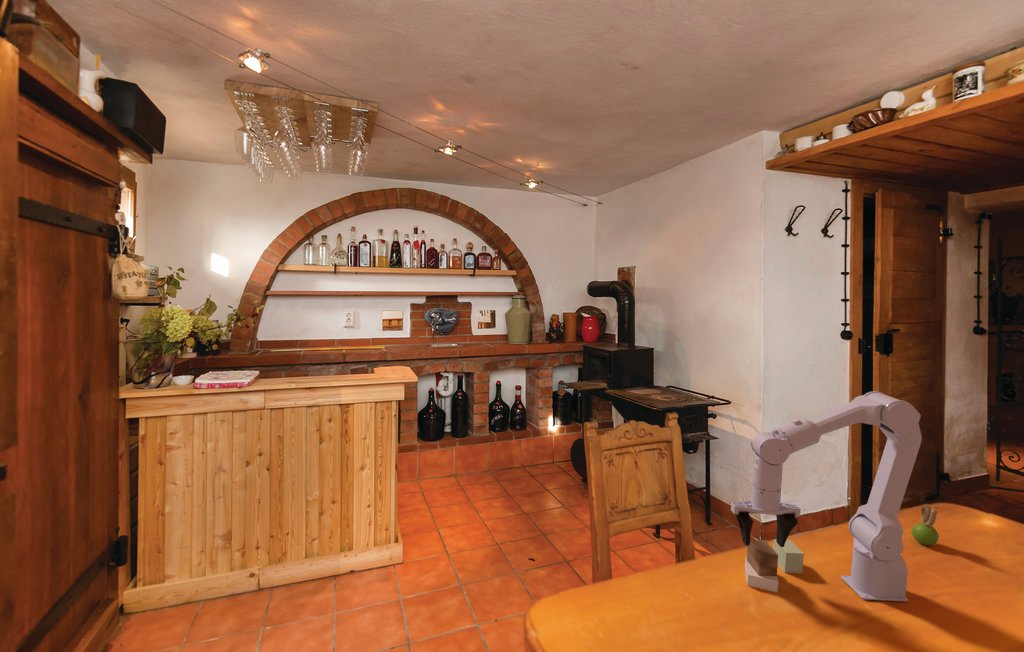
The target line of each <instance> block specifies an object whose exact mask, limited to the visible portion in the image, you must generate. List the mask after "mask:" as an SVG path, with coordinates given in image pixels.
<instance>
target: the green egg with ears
mask: <svg viewBox="0 0 1024 652" xmlns="http://www.w3.org/2000/svg"><path fill="white" fill-rule="evenodd" d="M935 508H936V509H935ZM938 509H939V506H938V505H936V506H935V505H932V508H931V507H930V506H929V505H928V504H923V505H922V506H921V507H920V520H921V522H918V523H916V524H914V525H913V526H912V528H911V534H912V537H913V538H914V540H915V541H916V542H918V543H919V544H922V545H925V546H932V545H935V544H936V543H938V541H939V539H940V538H939V537H940V536H939V532H938V531H937V529H936V528H935V527H934V524H935V523H936V521H937V514H938Z"/></svg>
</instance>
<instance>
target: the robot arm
mask: <svg viewBox="0 0 1024 652" xmlns="http://www.w3.org/2000/svg"><path fill="white" fill-rule="evenodd" d="M921 416H922V415H921V414H920V412H919V411H917V409H916V408H915V407H914V405H912V404H911V403H910V402H908V401H906V400H903V399H901V400H900V399H898V398H896V397H892V396H889V395H886V393H883V392H881V391H878V390H877V391H876V390H875V391H868V392H866V393H865V394H863V395H858V396H856V397H854V399H852V400H851V401H850V402H848V403H845V404H844V405H841V406H840V407H838V408H835V409H833V410H831V411H830V412H827V413H825V414H823V415H822V416H820V417H817V418H815V419H813V420H809V419H805V418H801V419H799V418H795V419H792V420H791V423H789V424H786V425H784V426H781V427H780V428H773V429H771V432H768V431H767V432H766V431H762V432H759V433H757V434H756V435H754V436H755V437H754V438H753V439H752V441H750V446H751V449H752V451H753V452H754V461H753V472H752V473H753V476H752V490H751V491H752V492H751V499H750V500H743V501H738V502H737V501H733V502H732V501H731V502H730V511H731V512H732V513H733V514H734V516H735V518H736V520H737V522H738V525H739V528H740V532H741V533H740V534H741V538H742V542H743V544H744V545H745V546H746V547H748V546H749V545H750V540H751V533H752V532H751V531H752V527H753V524H754V520H753V519H752V518H751V515H750V514H752V515H753V514H755V515H757V514H759V515H767V516H768V515H769V516H776V537H775V539H776V541H777V543H778V544H779V545H780V547H784V545H785V542H786V540H788V538H789V535H790V534H791V532H792V531H793V529H795V527H796V526H798V518H796V517H801V508H800V507H799V506H798V505H797V504H791V503H784V502H781V497H782V496H781V495H782V485H783V484H782V483H783V482H782V481H783V466H784V463H785V462H787V460H788V458H789V457H790V456H791V455H792V454H794V453H796V452H799V451H802V450H805V449H806V448H808V447H811V446H813V445H816V444H818V443H819V442H820V439H821V437H822V436H823V435H825V434H828V433H832V432H835V431H837V430H840V429H843V428H846V427H848V426H851V425H855V424H858V423H861V424H865V425H872V426H876V427H877V426H878V428H879V429H880V431H881V432H882V433H883V434H884V435H885V437H886V438H887V439H886V442H885V445H884V449H883V452H882V456H881V459H880V462H879V465H878V469H877V472H876V475H875V478H874V480H873V484H872V487H871V491H870V494H869V497H868V500H867V503H866V504H862V505H860V506H858V508H857V511H856V513H855V514H854V515H853V516H852V517H851V518H850V520H849V522H848V531H849V534H851V535H852V537H853V544H852V545H853V546H852V547H853V548H852V557H851V559H852V560H851V568H850V569H851V570H850V575H841V577H840V578H841V579H842V581H844V582H845V583H846V584H847V585H848V586H849V587H850V588H851V589H852V590H853V591H854V592H855V593H856V595H858V596H859V597H860V598H862V600H868V601H869V600H870V601H871V600H872V601H891V602H908V601H909V599H908V598H907V597H906V595H907V594H906V593H907V592H906V591H907V582H908V573H909V572H908V566H907V563H906V561H905V559H904V558H903V556H902V555H901V554H902V553H903V551H904V543H903V535H904V529H903V527H902V524H901V521H900V519H899V517H898V515H899V512H900V510H901V505H902V503H903V500H904V496H905V494H906V491H907V488H908V484H909V480H910V478H911V475H912V472H913V470H914V469H913V468H914V466H915V463H916V460H917V456H918V453H919V451H920V447H921V444H922V439H923V437H922V431H921V428H920V424H919V423H920V420H921Z"/></svg>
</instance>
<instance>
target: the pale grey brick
mask: <svg viewBox="0 0 1024 652" xmlns="http://www.w3.org/2000/svg"><path fill="white" fill-rule="evenodd" d="M744 557H745V560H744V571H745V579H746V586H747V587H750V588H751V587H752V588H756V589H759V588H760V589H759V590H765V591H769V592H774V593H778V591H779V590H778V589H779V579H778V578H779V577H778V575H777V576H759V575H758V574H757V573H756V571H755V570H754V569H753V568H752V566H751V565H750V564H749V562H748V561H747V555H746V556H744Z"/></svg>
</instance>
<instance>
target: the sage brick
mask: <svg viewBox="0 0 1024 652" xmlns="http://www.w3.org/2000/svg"><path fill="white" fill-rule="evenodd" d="M772 549H773V550H774V551H775V552H776V553H777V554H778V567H779V568H780V570H782V572H784V573H785V574H800V575H801V574H803V569H804V568H803V567H804V552H803V551H802V550H801V549H800V548H799V547H798V546H797V545H796V544H795V543H794V542H793V541H792V540H791V539H787V540H786V542H785V545H784V547H780V545H779V544H778V543H777V541H776V538H774V539H773V546H772Z"/></svg>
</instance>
